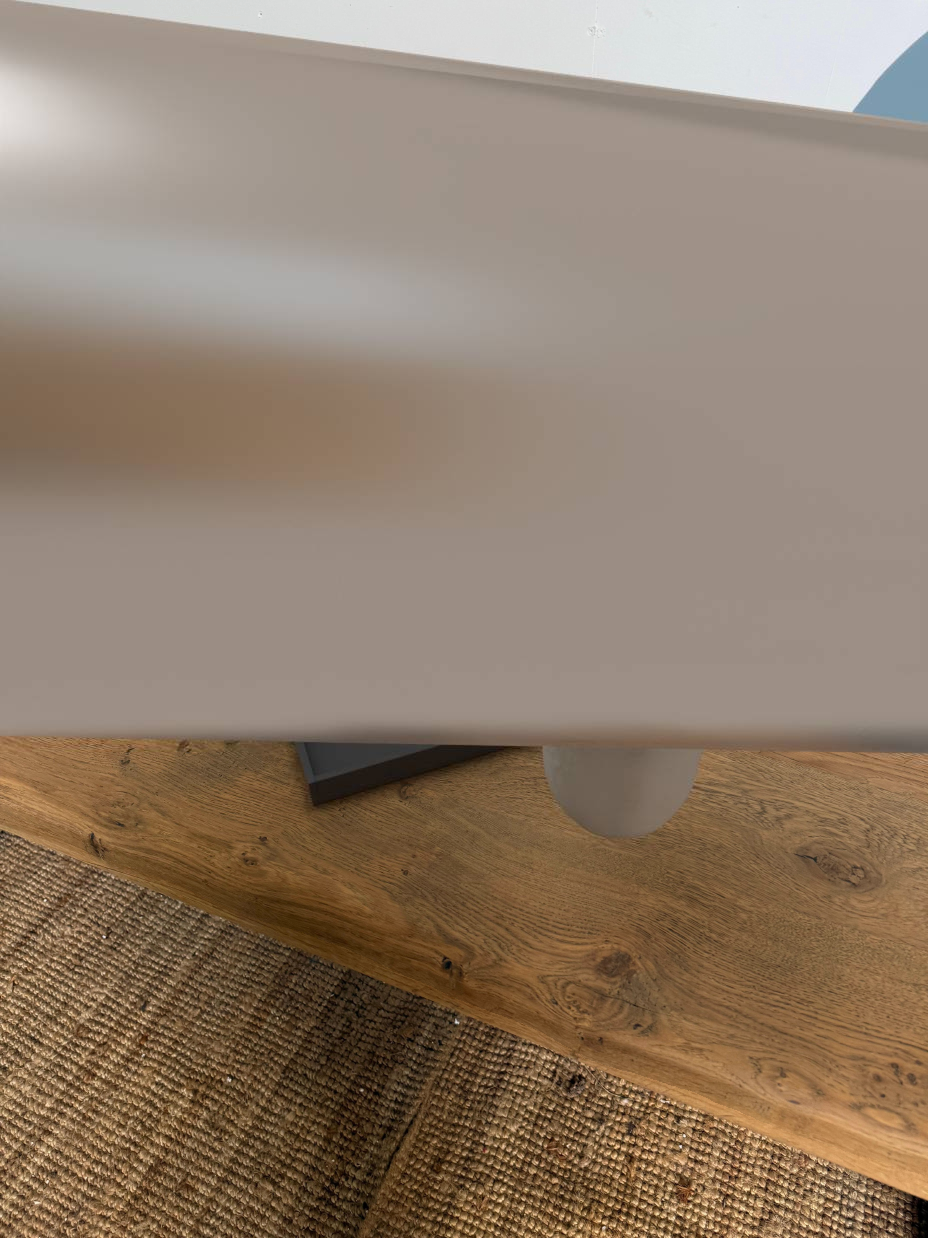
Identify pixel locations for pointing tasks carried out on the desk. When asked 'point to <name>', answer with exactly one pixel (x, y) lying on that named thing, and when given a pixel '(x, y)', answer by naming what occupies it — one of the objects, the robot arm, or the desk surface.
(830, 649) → the robot arm
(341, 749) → the tray
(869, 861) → the desk surface
